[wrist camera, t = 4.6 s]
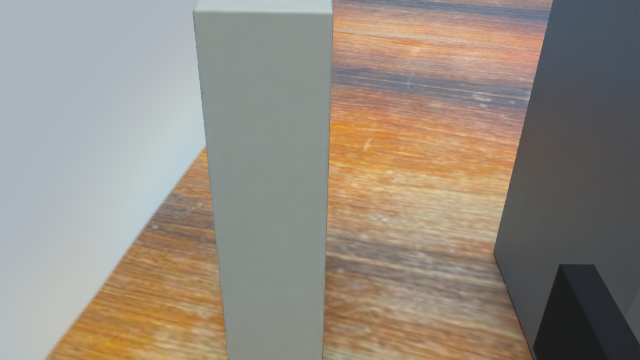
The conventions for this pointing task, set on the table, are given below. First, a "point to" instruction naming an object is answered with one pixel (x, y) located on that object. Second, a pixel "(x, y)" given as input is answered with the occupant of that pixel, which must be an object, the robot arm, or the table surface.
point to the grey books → (578, 162)
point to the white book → (268, 167)
